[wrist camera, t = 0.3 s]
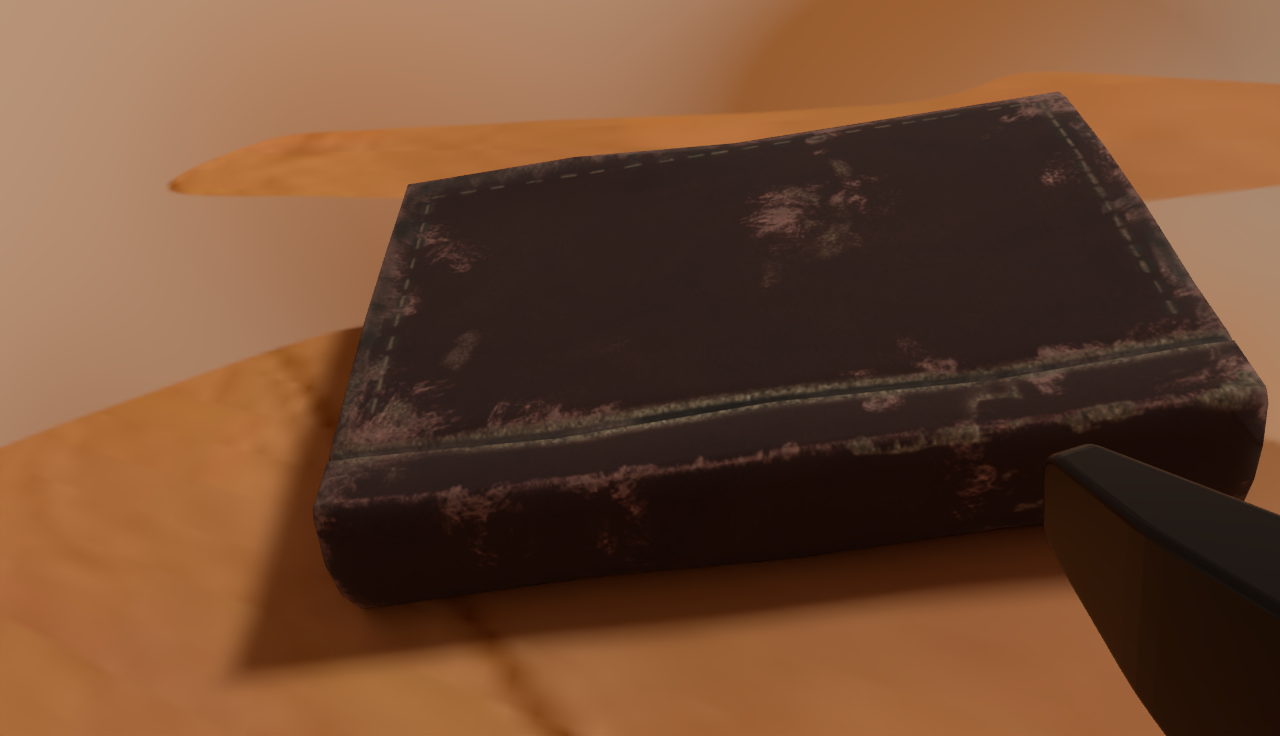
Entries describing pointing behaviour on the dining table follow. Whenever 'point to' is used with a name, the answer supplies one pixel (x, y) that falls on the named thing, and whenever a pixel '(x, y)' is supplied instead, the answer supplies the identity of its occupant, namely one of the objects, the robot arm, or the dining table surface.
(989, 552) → the dining table surface
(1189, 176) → the dining table surface
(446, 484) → the diary
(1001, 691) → the dining table surface
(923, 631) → the dining table surface
